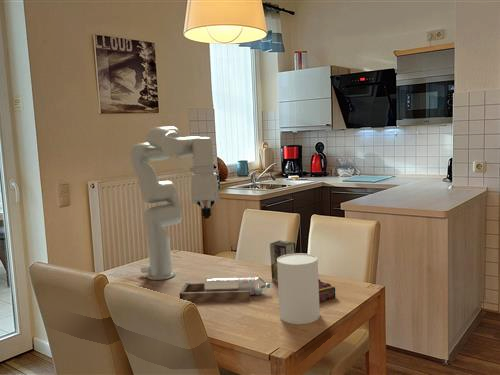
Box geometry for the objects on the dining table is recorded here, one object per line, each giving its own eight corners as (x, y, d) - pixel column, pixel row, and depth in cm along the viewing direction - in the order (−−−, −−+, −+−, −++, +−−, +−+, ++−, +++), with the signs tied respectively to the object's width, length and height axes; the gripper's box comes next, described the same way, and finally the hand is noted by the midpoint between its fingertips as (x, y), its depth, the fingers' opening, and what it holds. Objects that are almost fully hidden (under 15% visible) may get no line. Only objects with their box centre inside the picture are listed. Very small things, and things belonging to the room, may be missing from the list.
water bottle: (204, 296, 189) (269, 295, 187) (203, 278, 190) (268, 276, 188) (207, 295, 195) (270, 294, 193) (206, 278, 196) (269, 276, 195)
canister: (323, 322, 162) (321, 262, 159) (282, 325, 161) (279, 266, 158) (315, 307, 175) (312, 252, 173) (277, 310, 174) (274, 255, 172)
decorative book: (312, 287, 196) (312, 275, 196) (338, 299, 182) (338, 286, 181) (288, 293, 191) (288, 281, 190) (313, 306, 177) (312, 292, 176)
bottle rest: (180, 302, 187) (179, 293, 187) (186, 291, 199) (185, 283, 199) (250, 300, 185) (249, 291, 185) (252, 289, 197) (251, 281, 197)
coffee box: (297, 280, 205) (296, 242, 203) (287, 284, 201) (285, 246, 199) (281, 276, 212) (279, 239, 209) (271, 280, 207) (269, 243, 205)
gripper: (182, 172, 183) (185, 220, 185) (222, 170, 182) (225, 219, 184) (186, 170, 190) (189, 217, 193) (224, 168, 189) (227, 215, 192)
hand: (206, 218), depth 188 cm, fingers closed
